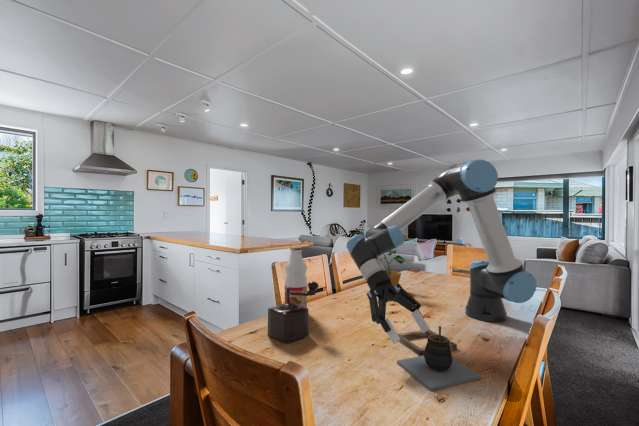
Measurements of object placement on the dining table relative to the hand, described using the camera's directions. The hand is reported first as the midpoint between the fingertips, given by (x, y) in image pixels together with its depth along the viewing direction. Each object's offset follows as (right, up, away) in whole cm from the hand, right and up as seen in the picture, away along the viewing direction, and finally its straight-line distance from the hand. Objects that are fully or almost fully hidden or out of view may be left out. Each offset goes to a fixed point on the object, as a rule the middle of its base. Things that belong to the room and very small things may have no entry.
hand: (412, 336), depth 89 cm
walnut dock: (+7, -7, +10) cm, 14 cm away
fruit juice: (-37, -6, +39) cm, 54 cm away
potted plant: (+11, -7, +77) cm, 78 cm away
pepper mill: (-36, -7, +18) cm, 41 cm away
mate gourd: (+5, -6, -6) cm, 10 cm away
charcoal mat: (+5, -7, -7) cm, 10 cm away
